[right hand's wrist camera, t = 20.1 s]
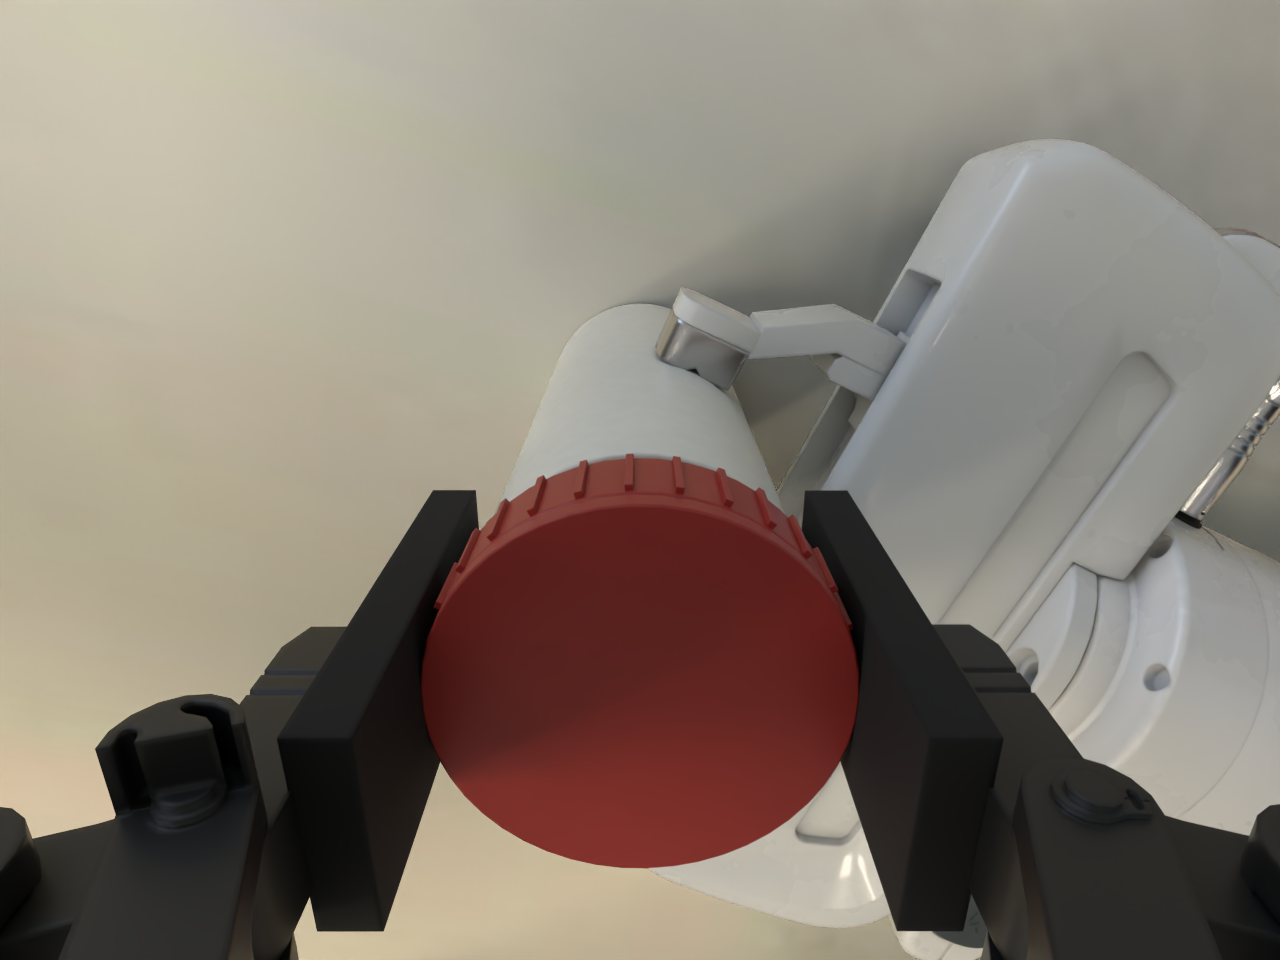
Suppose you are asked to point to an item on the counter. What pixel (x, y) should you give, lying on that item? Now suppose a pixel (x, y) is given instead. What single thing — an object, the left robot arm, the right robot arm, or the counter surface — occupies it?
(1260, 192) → the counter surface
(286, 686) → the right robot arm
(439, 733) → the lid
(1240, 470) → the left robot arm
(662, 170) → the counter surface
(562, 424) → the jar
